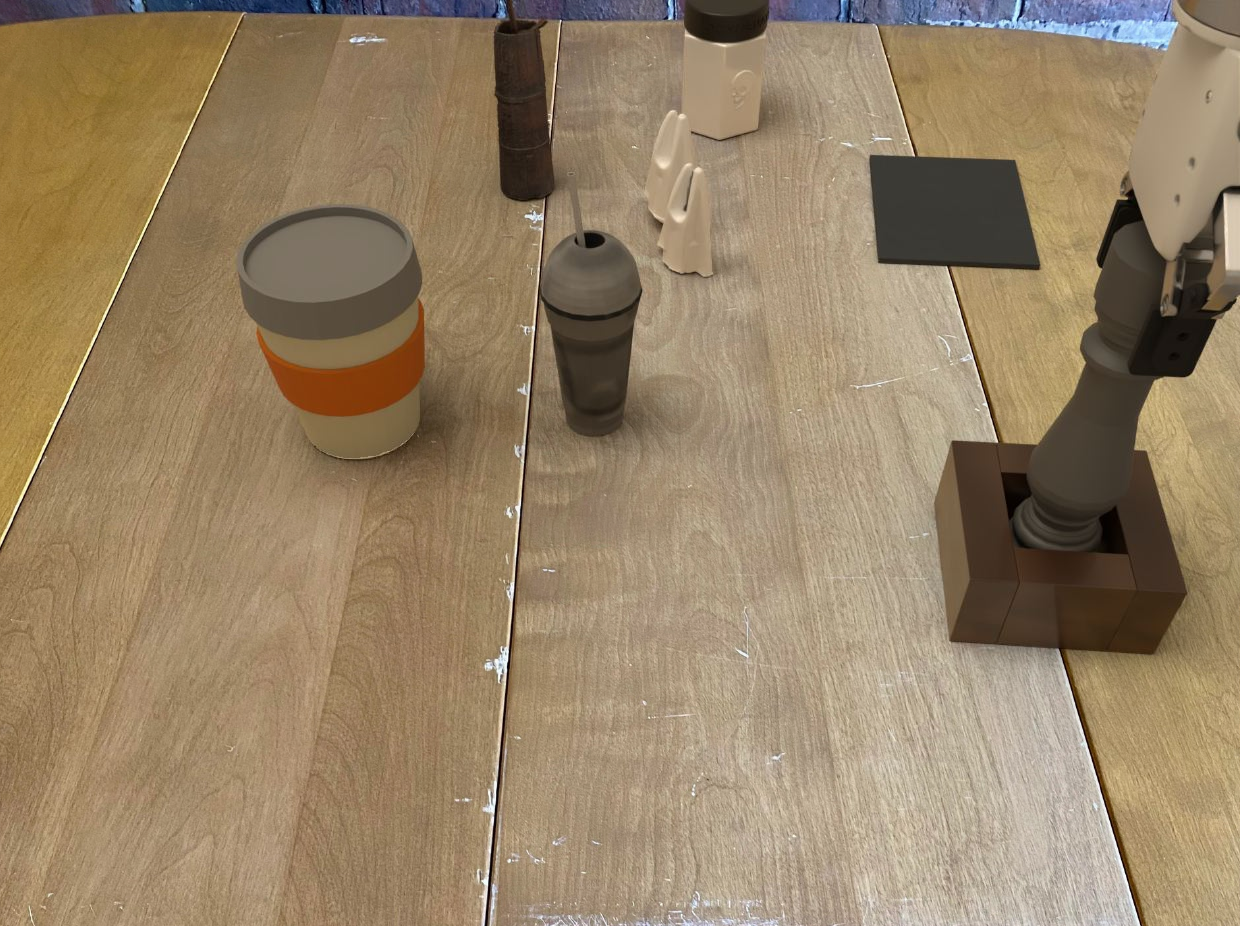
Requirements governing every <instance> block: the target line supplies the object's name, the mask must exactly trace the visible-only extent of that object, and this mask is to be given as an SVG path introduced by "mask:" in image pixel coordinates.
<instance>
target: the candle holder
mask: <svg viewBox="0 0 1240 926" xmlns="http://www.w3.org/2000/svg"><path fill="white" fill-rule="evenodd" d="M1185 247H1186V248H1210V249H1213V238H1207V237H1195V238H1194V239H1193V240H1192V241H1191V242H1190V243H1186V244H1185ZM1165 267H1166V259H1165V258H1164V257H1163V256H1162V255H1161V254H1160V253H1159V252H1158V251H1157V250H1156V248H1155V247H1154V244H1153V242H1152V240H1151V237H1150V235H1149V232H1148V229H1147V227H1146V224H1145V221H1138V222H1135V223H1131V224H1128V225H1125V226H1123V227H1122V228H1121V229H1120V230H1118V231H1117V232H1116V233H1115V234H1114V236H1113V239H1112V242H1111V245H1110V248H1109V250H1108V253H1107V256H1106V259H1105V262H1104V264H1103V267H1102V268H1101V270H1100V272H1099V276H1098V279H1097V281H1096V284H1095V288H1094V292H1093V298H1094V300H1095V304H1094V308H1093V309H1094V313H1095V315H1096V317H1097V321H1096V322H1094V323H1092V324H1091V325H1089V326H1088V327H1087V328H1086V329H1085V330H1084V331H1083V333H1082V334H1081V335H1082V336H1081V340H1080V345H1079V352H1080V354H1081V356H1082V359H1083V360H1084V362H1085V363H1084V366H1083V368H1082V371H1081V373H1080V376H1079V379H1078V381H1077V384H1076V386H1075V390H1074V392H1073V394H1072V396H1071V397H1070V399H1069V400H1068V402H1067V403H1066V404H1065V406H1064V407H1063V409H1062V410H1061V411H1060V413H1059V414H1058V415H1057V417H1056V418H1055V420H1054V421H1053V423H1052V424H1051V425H1050V427H1049V428H1048V430H1047V431H1046V432H1045V433H1044V434H1043V436H1042V437H1041V439H1040V440H1039V442H1038V443H1037V444H1036V445H1037V446H1036V447H1035V449H1034V450H1033V451H1032V454H1031V457H1030V460H1029V464H1028V468H1027V480H1028V483H1029V487H1030V489H1031V492H1032V495H1031V497H1030V498H1027V499H1025V500H1024V501H1023V502H1022V503H1021V504H1020V505H1019V506H1018V507H1017V508H1016V509H1015V512H1014V516H1013V518H1012V519H1010V520H1009V524H1010V530H1011V536H1012V542H1013V548H1026V549H1043V550H1059V551H1076V552H1093V553H1098V551H1099V544H1100V542H1101V536H1102V531H1103V528H1102V526H1101V523H1100V521H1099V517H1100V516H1101V515H1103V514H1105V513H1107V512H1108V511H1110V510H1111V509H1112V508H1113V507H1114V506H1115V505H1116V504H1117V503H1118V502H1119V501H1120V500H1121V499H1122V498H1123V497H1124V496H1125V495H1126V493H1127V491H1128V489H1129V486H1130V480H1131V473H1132V465H1133V457H1134V450H1136V440H1137V432H1138V425H1139V417H1140V415H1141V413H1142V410H1143V408H1144V405H1145V403H1146V402H1147V401H1146V400H1147V398H1148V396H1149V394H1150V391H1151V389H1152V386H1153V384H1154V382H1155V381H1158V380H1160V379H1164V377H1160V376H1140V375H1132V374H1130V372H1129V369H1128V366H1127V363H1128V361H1129V358H1130V356H1131V353H1132V351H1133V348H1134V346H1135V343H1136V341H1137V338H1138V336H1139V334H1140V331H1141V329H1142V326H1143V324H1144V321H1145V319H1146V316H1147V314H1148V311H1149V309H1150V307H1151V304H1160V303H1161V296H1162V289H1163V282H1164V274H1165ZM1211 268H1212V265H1205V264H1186V267H1185V274H1184V281H1183V288H1182V290H1183V289H1185V288H1187V287H1189V286H1191V285H1193V284H1195V283H1204V282H1205V281H1206V276H1207V275H1208V274H1209V272H1210V271H1211Z"/></svg>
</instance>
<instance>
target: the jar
mask: <svg viewBox="0 0 1240 926" xmlns="http://www.w3.org/2000/svg"><path fill="white" fill-rule="evenodd" d="M683 9H684V11H683V26H684V35H683V36H684V37H683V38H684V41H683V61H682V64H683V65H682V88H681V90H682V92H681V113H680V114H684V115H685V116H686V117H687V119H688V122H689V126H690V130H691V133H694V134H698V135H700V136H701V135H702V136H704V137H707V138H711V139H714V140H717V141H721V140H722V141H723V140H726V139H729V138H732V137H736V136H740V135H744V134H746V133H751V132H754V131H757V130H758V128H759V121H760V110H761V100H762V99H761V97H762V87H763V77H764V67H765V54H766V45H767V28H768V21H769V18H770V9H771V7H770V0H684V8H683Z"/></svg>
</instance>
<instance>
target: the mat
mask: <svg viewBox="0 0 1240 926" xmlns="http://www.w3.org/2000/svg"><path fill="white" fill-rule="evenodd" d="M868 160H869V161H868V162H869V172H870V182H871V185H870V186H871V194H872V207H873V218H874V229H875V241H876V242H875V243H876V254H877V262H878V263H879V264H901V265H924V266H925V265H927V266H928V265H929V266H950V267H975V268H998V269H999V268H1000V269H1023V270H1040V267H1041V262H1040V257H1039V253H1038V249H1037V245H1036V240H1035V237H1034V232H1033V227H1032V223H1031V220H1030V215H1029V211H1028V207H1027V204H1026V203H1027V202H1026V198H1025V195H1024V191H1023V186H1022V182H1021V178H1020V174H1019V169H1018V166H1017V161H1016V159H1007V158H1006V159H1004V158H1003V159H1002V158H974V157H949V156H948V157H947V156H946V157H945V156H944V157H943V156H916V155H915V156H914V155H888V154H869V158H868Z"/></svg>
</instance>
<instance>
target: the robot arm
mask: <svg viewBox="0 0 1240 926" xmlns="http://www.w3.org/2000/svg"><path fill="white" fill-rule="evenodd" d="M1171 12H1172V15H1173V16H1174V19H1175V21H1176V22H1177V25H1176V27H1175V29H1174V31H1173V33H1172V36H1171V38H1170V41H1169V43H1168V45H1167V48H1166V49H1165V53H1164V55H1163V58H1162V60H1161V62H1160V65H1159V67H1158V70H1157V72H1156V75H1155V77H1154V79H1153V83H1152V85H1151V88H1150V90H1149V93H1148V95H1147V99H1146V100H1145V101H1146V102H1145V103H1144V107H1143V110H1142V112H1141V115H1140V119H1139V121H1138V124H1137V128H1136V131H1135V133H1134V137H1133V141H1132V144H1131V148H1130V152H1129V155H1128V156H1129V157H1128V170H1127V171H1126V173H1125V174H1124V175H1123V176H1122V178H1121V181H1120V186H1119V195H1120V198H1127V199H1119V198H1118V199H1116V200H1115V204H1114V206H1113V209H1112V211H1111V212H1112V213H1111V215H1110V217H1109V220H1108V223H1107V227H1106V229H1105V232H1104V235H1103V237H1102V240H1101V244H1100V245H1099V249H1098V252H1097V255H1096V258H1095V261H1096V264H1097V267H1098V268H1099V269H1102V267H1103V264H1104V262H1105V259H1106V256H1107V253H1108V250H1109V248H1110V245H1111V242H1112V239H1113V236H1114V234H1115V233H1116V232H1117V231H1118V230H1120V229H1121V228H1122V227H1123V226H1125V225H1128V224H1131V223H1135V222H1138V221H1145V224H1146V227H1147V229H1148V232H1149V235H1150V237H1151V240H1152V242H1153V244H1154V247H1155V248H1156V250H1157V251H1158V252H1159V253H1160V254H1161V255H1162V256H1163V257H1164V258H1165V259H1166V267H1165V274H1164V282H1163V289H1162V296H1161V303H1160V304H1151V307H1150V309H1149V311H1148V314H1147V316H1146V319H1145V321H1144V324H1143V326H1142V329H1141V331H1140V334H1139V336H1138V338H1137V341H1136V343H1135V346H1134V348H1133V351H1132V353H1131V356H1130V358H1129V361H1128V363H1127V366H1128V369H1129V372H1130V374H1132V375H1140V376H1160V377H1163V378H1187V377H1190V376H1191V375H1192V374H1193V373H1194V371H1195V368H1196V367H1197V365H1198V362H1199V360H1200V358H1201V356H1202V353H1203V352H1204V349H1205V347H1206V345H1207V343H1208V341H1209V338H1210V336H1211V335H1212V332H1213V330H1214V328H1215V326H1216V324H1217V321H1218V320H1222V319H1223V318H1224V316H1225V315H1226V313H1227V312H1229V311H1230V310H1232V308H1233V306H1234V305H1235V304H1236V303H1237V300H1238V297H1239V296H1240V0H1173V1H1172V5H1171ZM1195 237H1207V238H1213V249H1210V248H1186V247H1185V244H1186V243H1190V242H1191V241H1192V240H1193V239H1194V238H1195ZM1186 264H1205V265H1212V268H1211V271H1210V272H1209V274H1208V275H1207V276H1206V281H1205V282H1204V283H1195V284H1193V285H1191V286H1189V287H1187V288H1185V289H1183V290H1182V288H1183V281H1184V274H1185V267H1186Z"/></svg>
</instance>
